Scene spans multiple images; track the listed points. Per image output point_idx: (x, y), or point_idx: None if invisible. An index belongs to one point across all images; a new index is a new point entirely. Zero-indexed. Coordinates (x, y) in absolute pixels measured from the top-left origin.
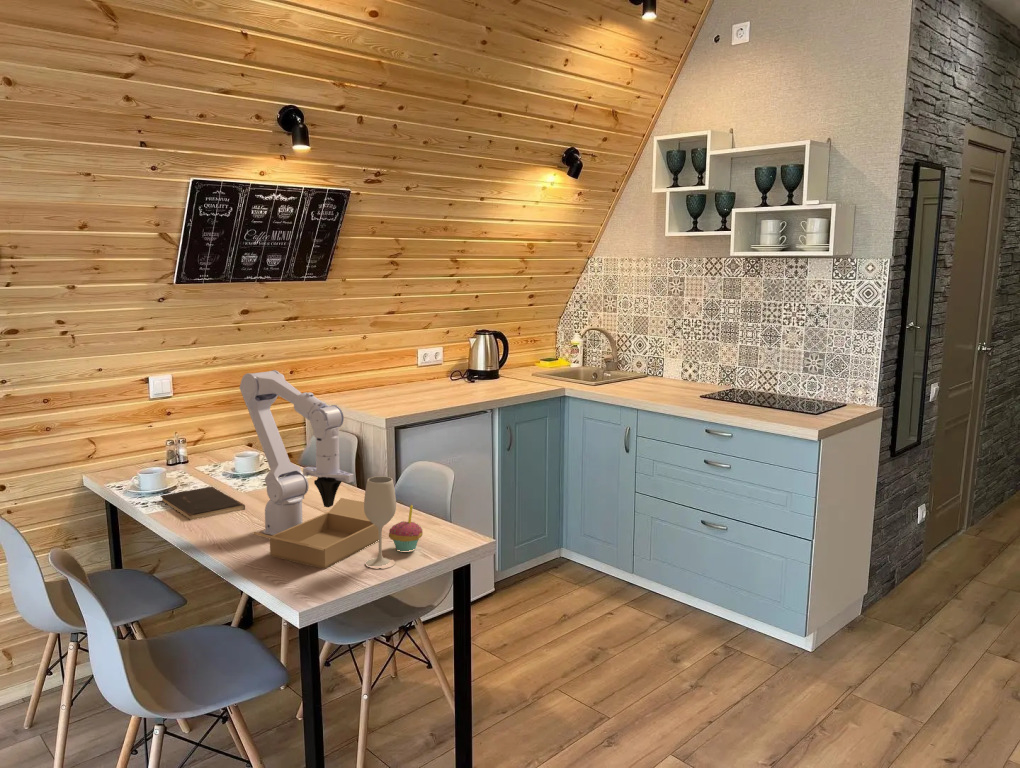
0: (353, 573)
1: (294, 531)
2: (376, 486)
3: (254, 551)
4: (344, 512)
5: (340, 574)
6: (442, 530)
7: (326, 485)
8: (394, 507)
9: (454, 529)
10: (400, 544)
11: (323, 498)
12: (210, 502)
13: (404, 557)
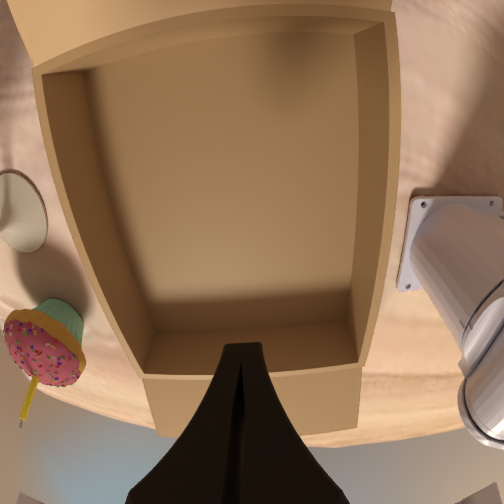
0: (7, 116)
1: (379, 173)
2: None
3: (437, 47)
4: (299, 386)
5: (22, 82)
6: (121, 409)
7: (161, 498)
8: None
9: (113, 415)
10: (36, 309)
11: (251, 387)
12: None
13: (24, 278)
